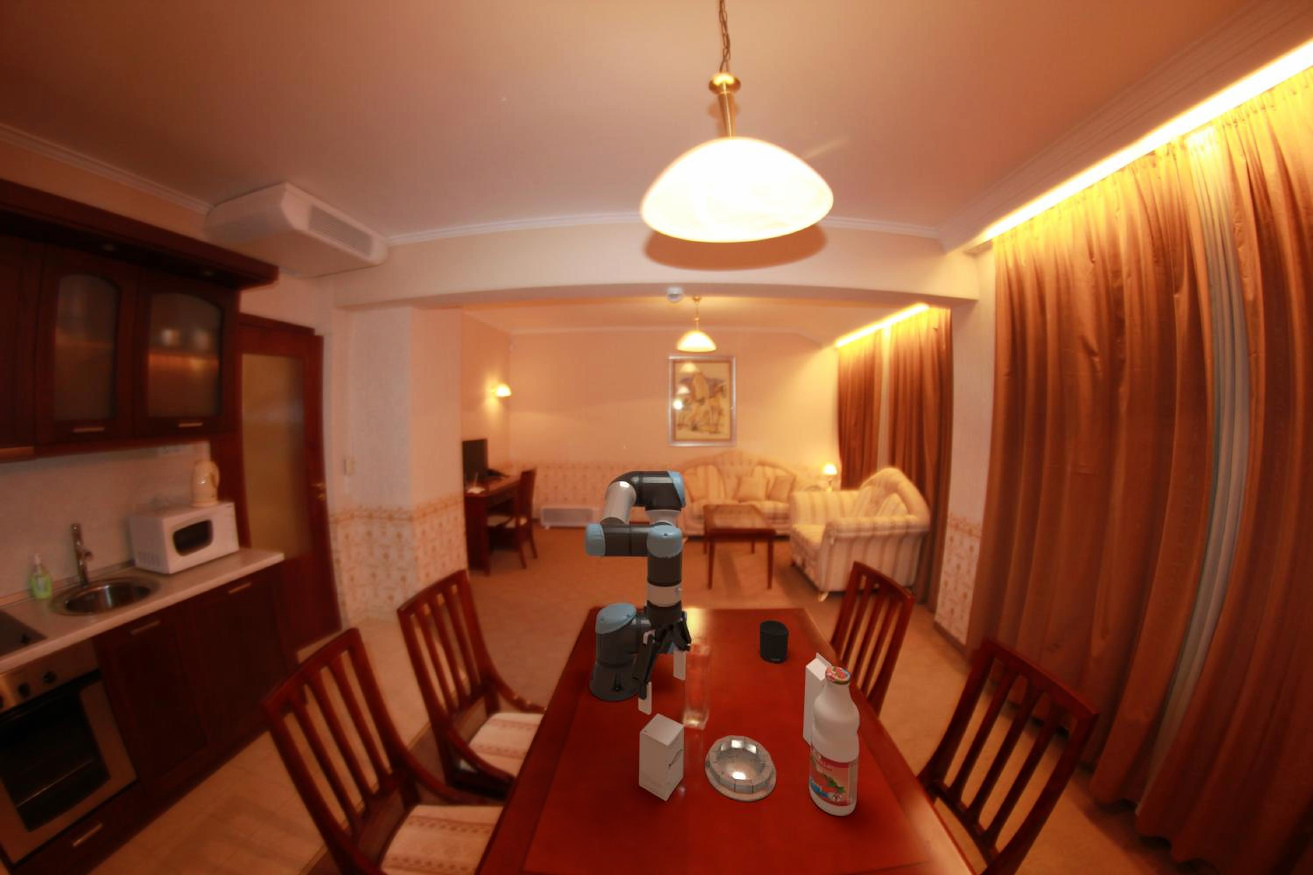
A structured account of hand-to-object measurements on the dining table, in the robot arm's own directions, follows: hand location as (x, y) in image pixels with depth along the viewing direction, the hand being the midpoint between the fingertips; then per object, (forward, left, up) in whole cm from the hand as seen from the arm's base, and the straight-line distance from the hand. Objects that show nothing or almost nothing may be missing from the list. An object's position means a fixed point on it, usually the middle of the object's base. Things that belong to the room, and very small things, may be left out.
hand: (663, 693), depth 96 cm
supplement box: (0, 0, -21) cm, 21 cm away
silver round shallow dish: (+13, +13, -21) cm, 28 cm away
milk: (+26, +32, -21) cm, 46 cm away
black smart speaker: (+3, +62, -21) cm, 65 cm away
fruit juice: (+32, +18, -21) cm, 42 cm away
